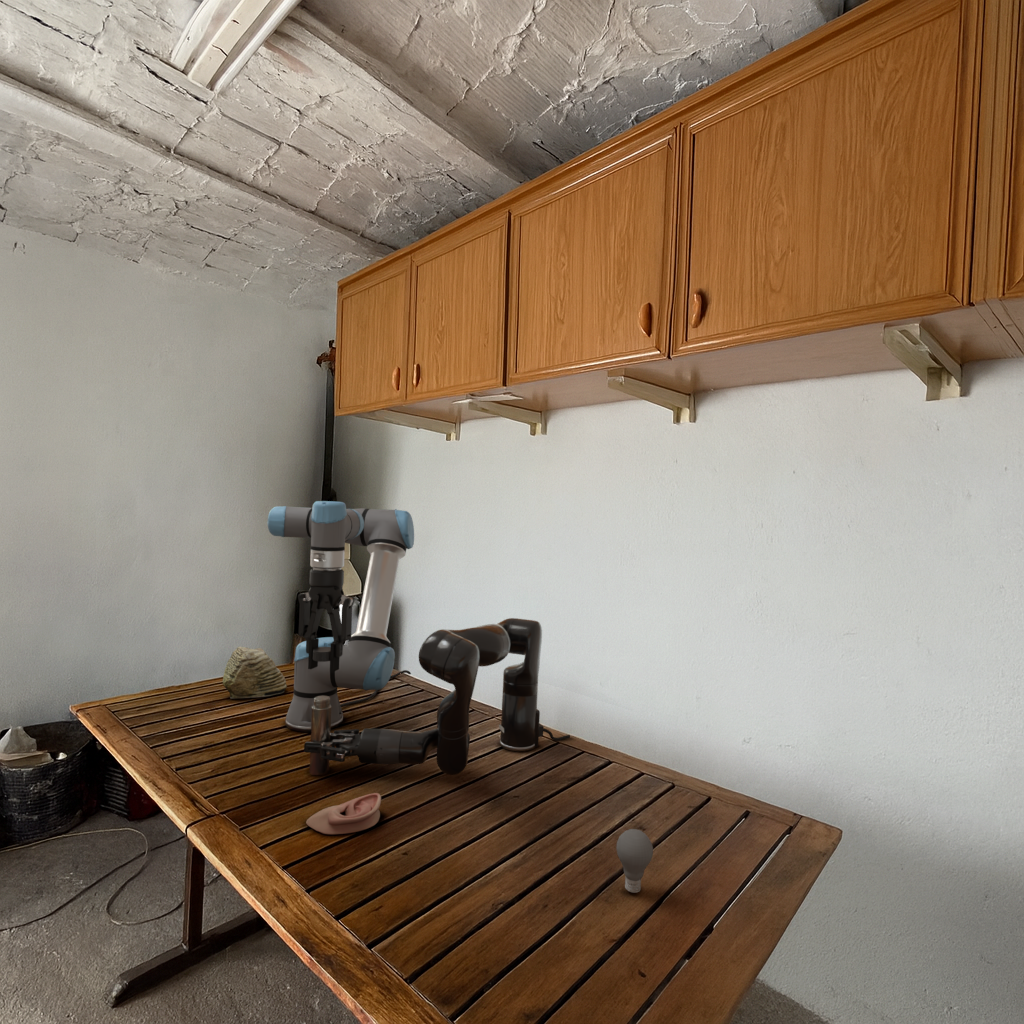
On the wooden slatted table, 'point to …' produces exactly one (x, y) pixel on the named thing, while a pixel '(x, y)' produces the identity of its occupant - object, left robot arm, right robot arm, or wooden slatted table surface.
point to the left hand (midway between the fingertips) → (323, 668)
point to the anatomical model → (347, 816)
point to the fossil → (252, 674)
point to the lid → (321, 654)
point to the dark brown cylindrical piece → (320, 733)
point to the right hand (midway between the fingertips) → (308, 742)
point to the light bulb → (634, 857)
